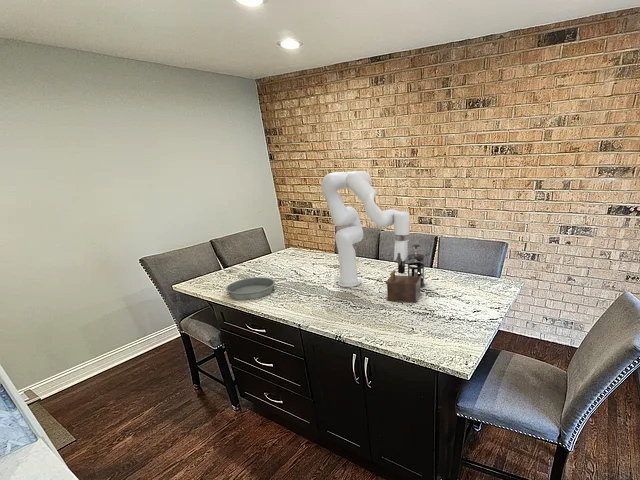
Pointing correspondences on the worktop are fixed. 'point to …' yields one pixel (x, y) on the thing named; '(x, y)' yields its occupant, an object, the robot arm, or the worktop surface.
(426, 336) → the worktop surface
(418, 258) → the french press
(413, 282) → the lid
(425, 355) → the worktop surface
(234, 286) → the cake pan
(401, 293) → the caddy
